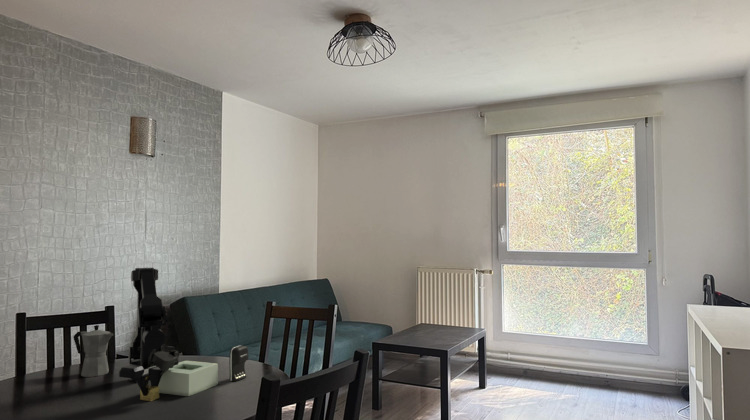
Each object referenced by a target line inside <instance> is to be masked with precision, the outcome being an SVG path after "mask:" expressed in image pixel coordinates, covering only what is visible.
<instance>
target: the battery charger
mask: <svg viewBox="0 0 750 420" xmlns="http://www.w3.org/2000/svg"><path fill="white" fill-rule="evenodd" d="M247 361H249V349H248V347H247V346H246V345H237V346H233V347H232V348H230V351H229V381H231V382H239V381H241V380H243V379H246V378H247V372H246V370H245V367H246V366H245V363H246V362H247Z"/></svg>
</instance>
